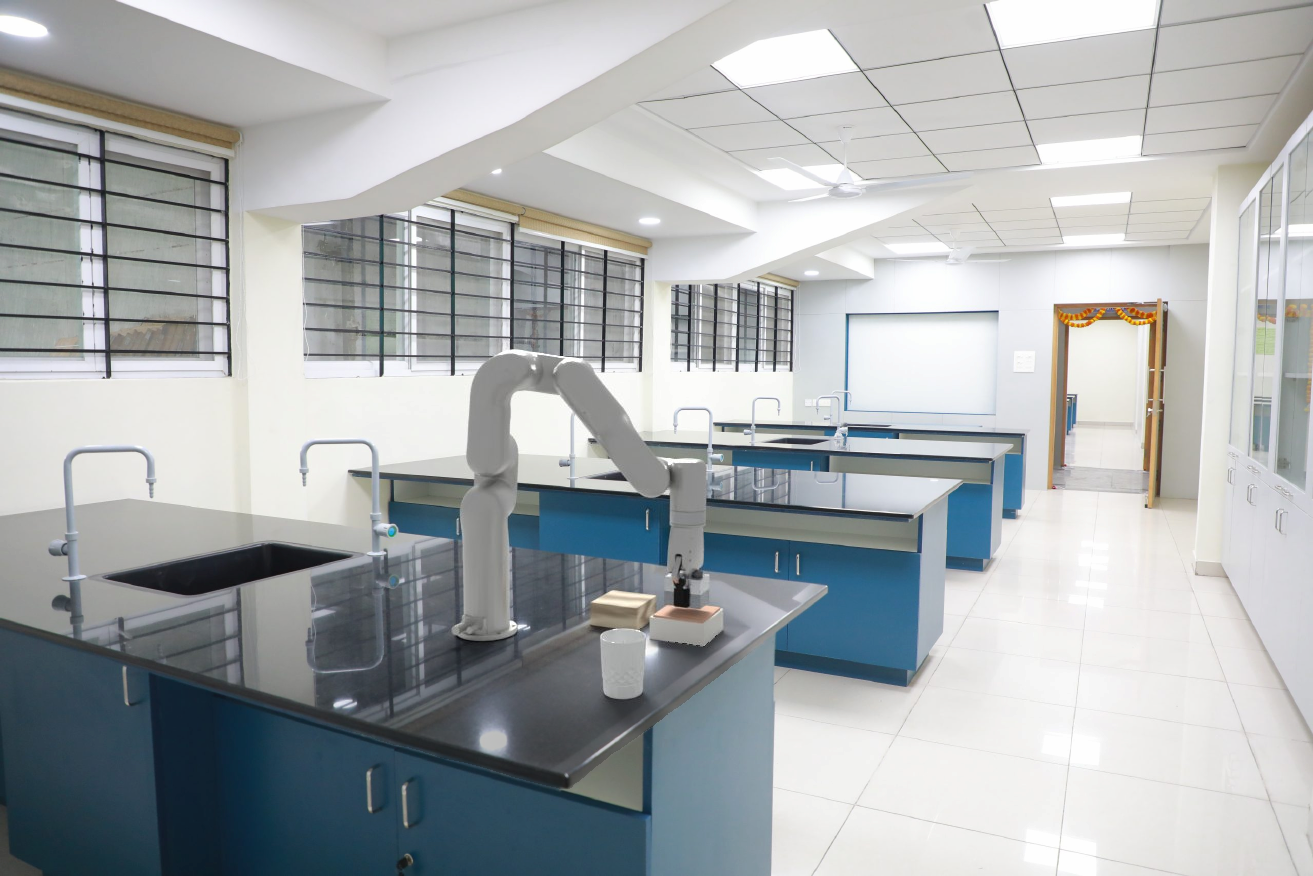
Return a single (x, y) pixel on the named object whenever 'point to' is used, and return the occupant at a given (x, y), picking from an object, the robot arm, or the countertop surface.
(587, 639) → the countertop surface
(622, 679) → the white cup
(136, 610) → the countertop surface
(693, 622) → the stand
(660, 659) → the countertop surface
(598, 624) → the stand
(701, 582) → the housing
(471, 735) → the countertop surface
